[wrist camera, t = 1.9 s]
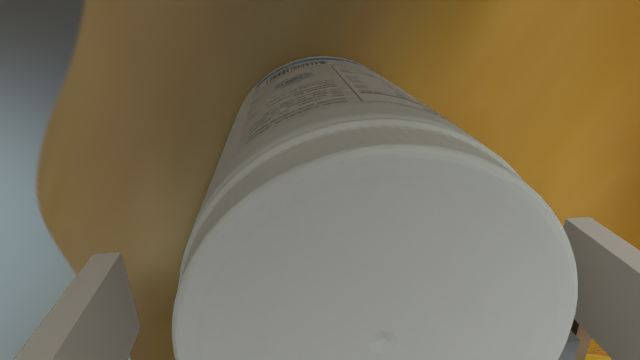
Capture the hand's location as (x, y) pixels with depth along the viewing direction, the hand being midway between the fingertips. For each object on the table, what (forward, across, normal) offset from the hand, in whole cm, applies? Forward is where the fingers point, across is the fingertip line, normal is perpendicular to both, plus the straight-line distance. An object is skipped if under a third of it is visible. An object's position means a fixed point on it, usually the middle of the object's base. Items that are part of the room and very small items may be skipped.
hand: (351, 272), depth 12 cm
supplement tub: (+12, 0, +1) cm, 12 cm away
